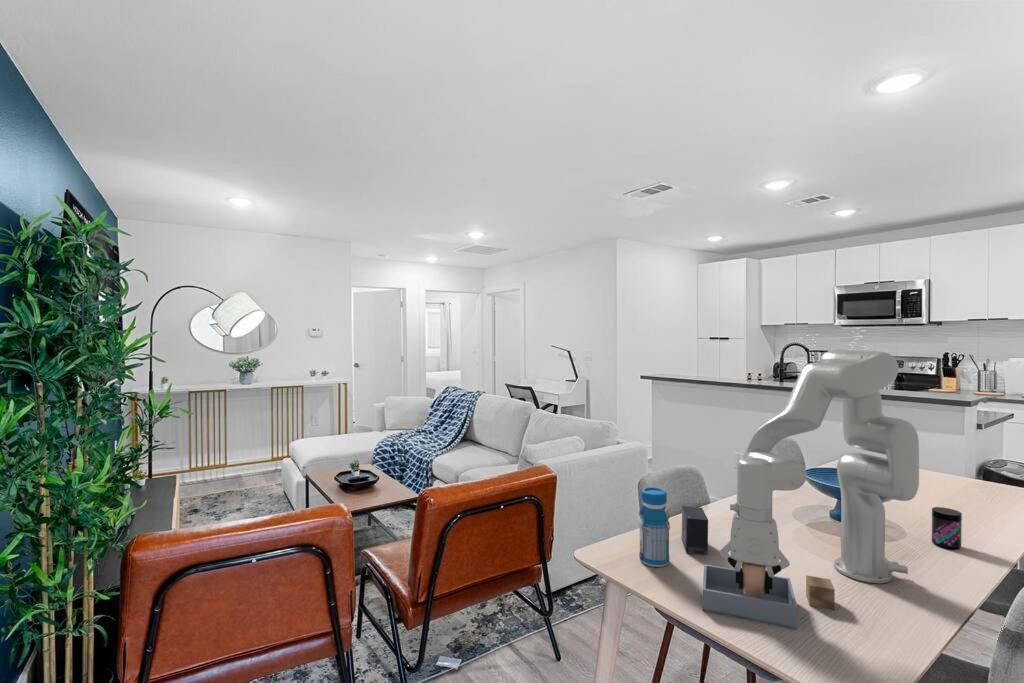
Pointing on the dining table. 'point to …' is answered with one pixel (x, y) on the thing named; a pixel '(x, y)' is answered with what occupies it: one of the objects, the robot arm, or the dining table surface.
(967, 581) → the dining table surface
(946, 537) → the supplement container
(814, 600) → the walnut cube
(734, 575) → the tote
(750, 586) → the tan rounded smooth part
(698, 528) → the small box
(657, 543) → the beverage bottle
